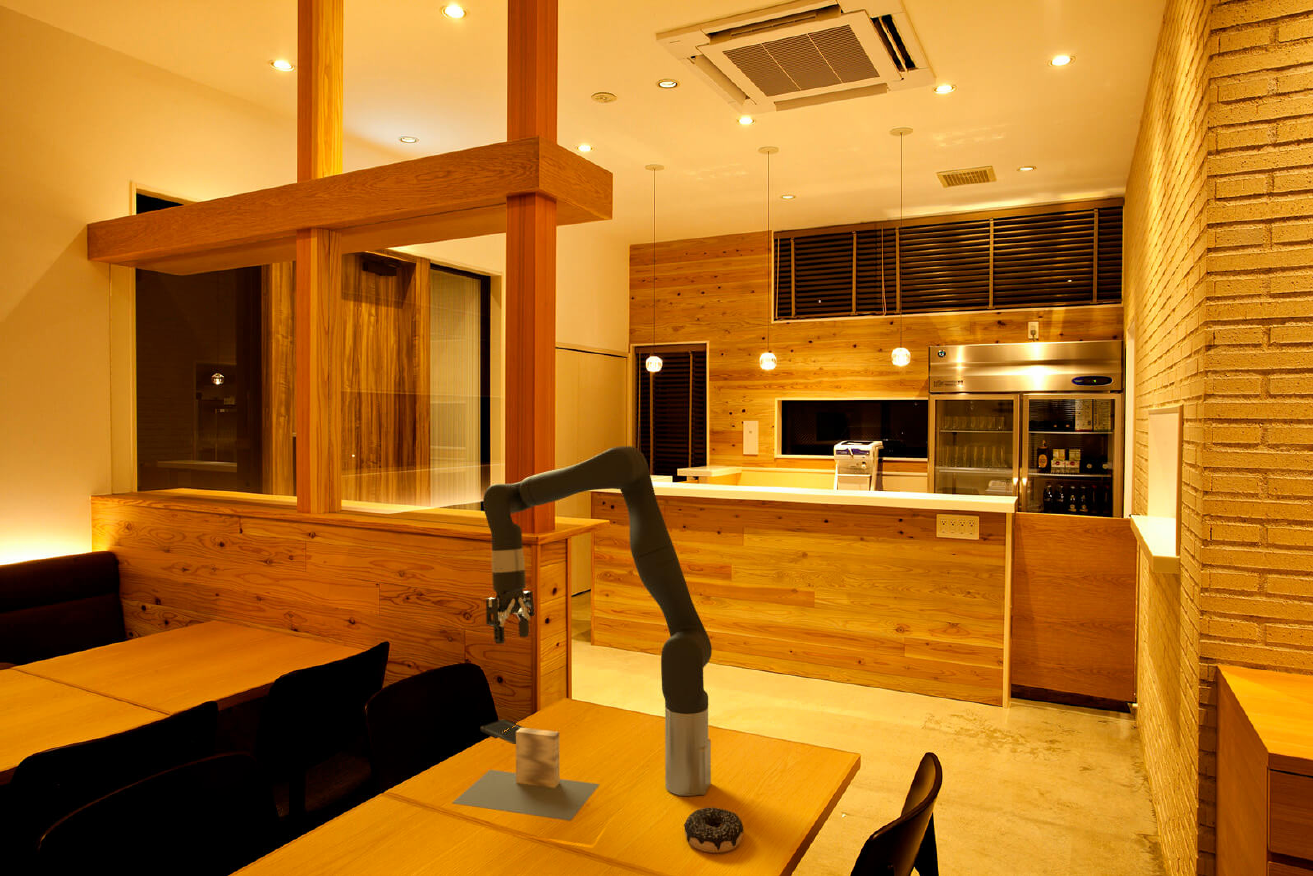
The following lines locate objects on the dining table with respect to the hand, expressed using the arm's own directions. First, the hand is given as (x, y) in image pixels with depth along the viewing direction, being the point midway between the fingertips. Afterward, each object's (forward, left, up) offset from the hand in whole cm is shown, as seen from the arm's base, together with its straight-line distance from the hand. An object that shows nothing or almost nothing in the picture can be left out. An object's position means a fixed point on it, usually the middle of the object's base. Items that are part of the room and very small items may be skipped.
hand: (512, 640), depth 180 cm
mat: (-11, +15, -28) cm, 34 cm away
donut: (-52, +21, -28) cm, 63 cm away
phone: (+8, -14, -28) cm, 33 cm away
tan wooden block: (-11, +10, -27) cm, 31 cm away
